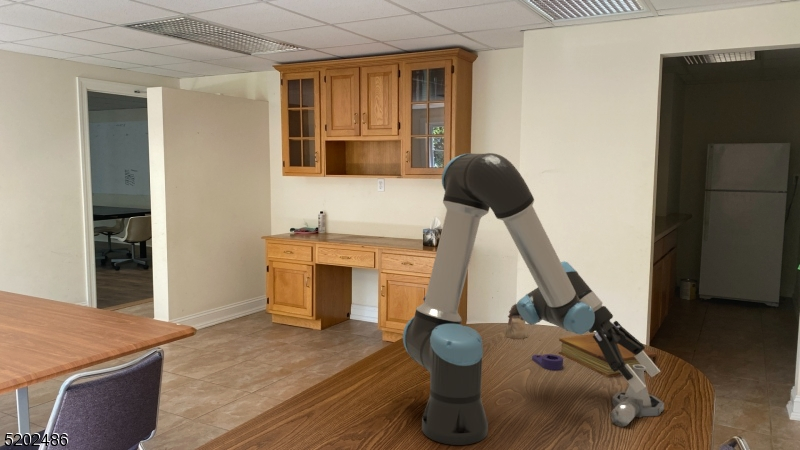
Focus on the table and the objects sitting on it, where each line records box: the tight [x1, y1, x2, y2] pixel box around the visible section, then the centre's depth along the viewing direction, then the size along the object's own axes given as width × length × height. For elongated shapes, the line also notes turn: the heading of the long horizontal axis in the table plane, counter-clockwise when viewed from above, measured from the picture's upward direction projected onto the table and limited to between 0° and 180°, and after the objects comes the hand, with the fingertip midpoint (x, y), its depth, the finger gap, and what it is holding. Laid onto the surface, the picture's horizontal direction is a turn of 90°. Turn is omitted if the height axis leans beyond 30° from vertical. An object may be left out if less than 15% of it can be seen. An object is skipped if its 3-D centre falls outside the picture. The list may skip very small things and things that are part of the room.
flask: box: [625, 365, 652, 408], centre depth 147 cm, size 7×7×10 cm
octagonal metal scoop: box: [610, 390, 665, 428], centre depth 144 cm, size 20×11×4 cm, turn 142°
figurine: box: [505, 303, 528, 340], centre depth 207 cm, size 7×7×12 cm
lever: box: [531, 353, 564, 372], centre depth 178 cm, size 12×6×3 cm, turn 23°
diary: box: [558, 333, 659, 378], centre depth 182 cm, size 23×19×6 cm
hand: (649, 381), depth 145 cm, fingers open, 13 cm apart
